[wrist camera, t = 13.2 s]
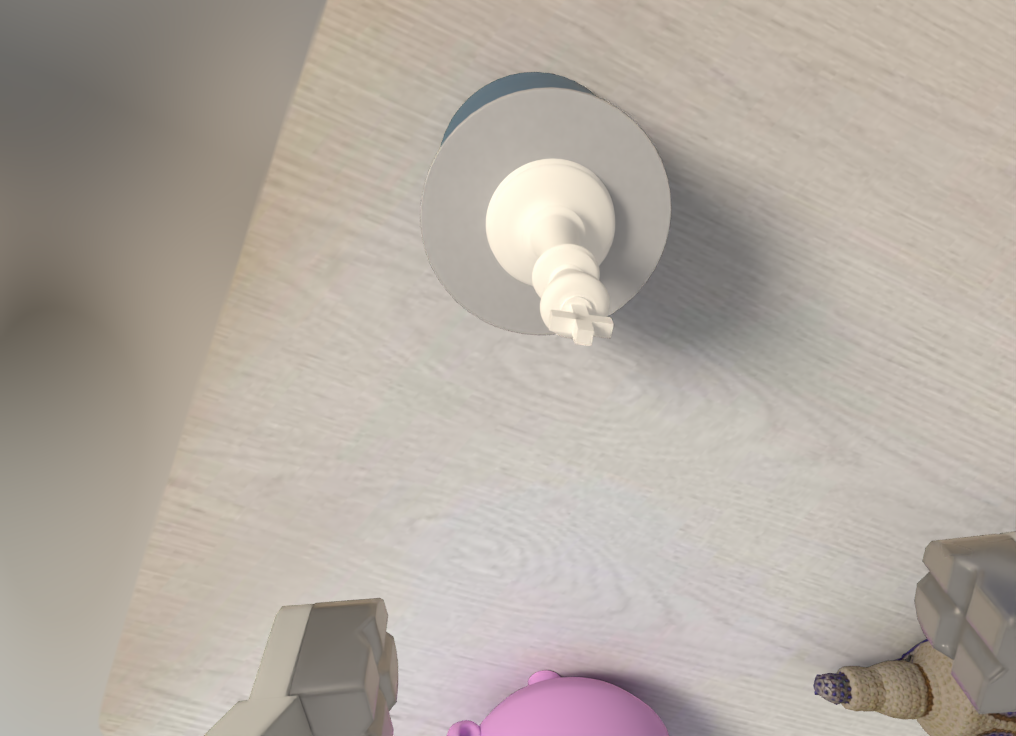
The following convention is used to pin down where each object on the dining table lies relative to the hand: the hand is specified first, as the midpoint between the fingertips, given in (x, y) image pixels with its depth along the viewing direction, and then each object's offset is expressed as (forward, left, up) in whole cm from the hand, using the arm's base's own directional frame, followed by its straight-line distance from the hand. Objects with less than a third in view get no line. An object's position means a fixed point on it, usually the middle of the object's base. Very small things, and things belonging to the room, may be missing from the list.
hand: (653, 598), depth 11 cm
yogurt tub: (0, 0, -27) cm, 27 cm away
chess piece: (0, 0, -19) cm, 19 cm away
